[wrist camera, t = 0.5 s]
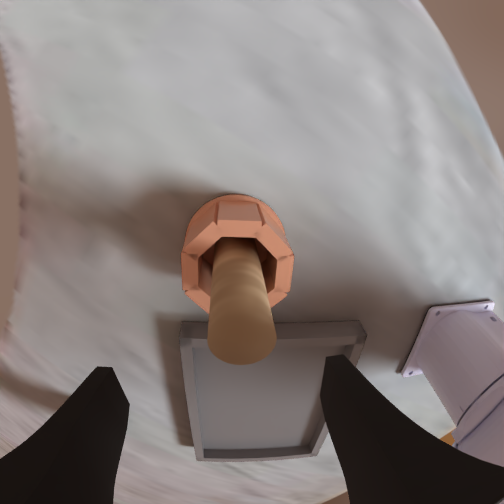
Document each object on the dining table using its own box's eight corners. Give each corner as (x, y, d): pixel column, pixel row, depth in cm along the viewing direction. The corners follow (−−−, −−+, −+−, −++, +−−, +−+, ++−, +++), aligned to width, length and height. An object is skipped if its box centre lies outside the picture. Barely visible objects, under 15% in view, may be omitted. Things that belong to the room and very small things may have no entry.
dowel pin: (257, 227, 18) (280, 312, 10) (254, 264, 19) (272, 364, 11) (215, 225, 17) (206, 312, 10) (214, 263, 18) (208, 364, 11)
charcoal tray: (358, 320, 22) (367, 334, 20) (313, 443, 29) (316, 455, 27) (182, 321, 21) (179, 337, 19) (197, 447, 28) (196, 460, 26)
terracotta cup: (289, 196, 18) (305, 216, 14) (279, 286, 20) (290, 323, 16) (185, 192, 17) (173, 212, 13) (187, 284, 19) (179, 321, 16)
